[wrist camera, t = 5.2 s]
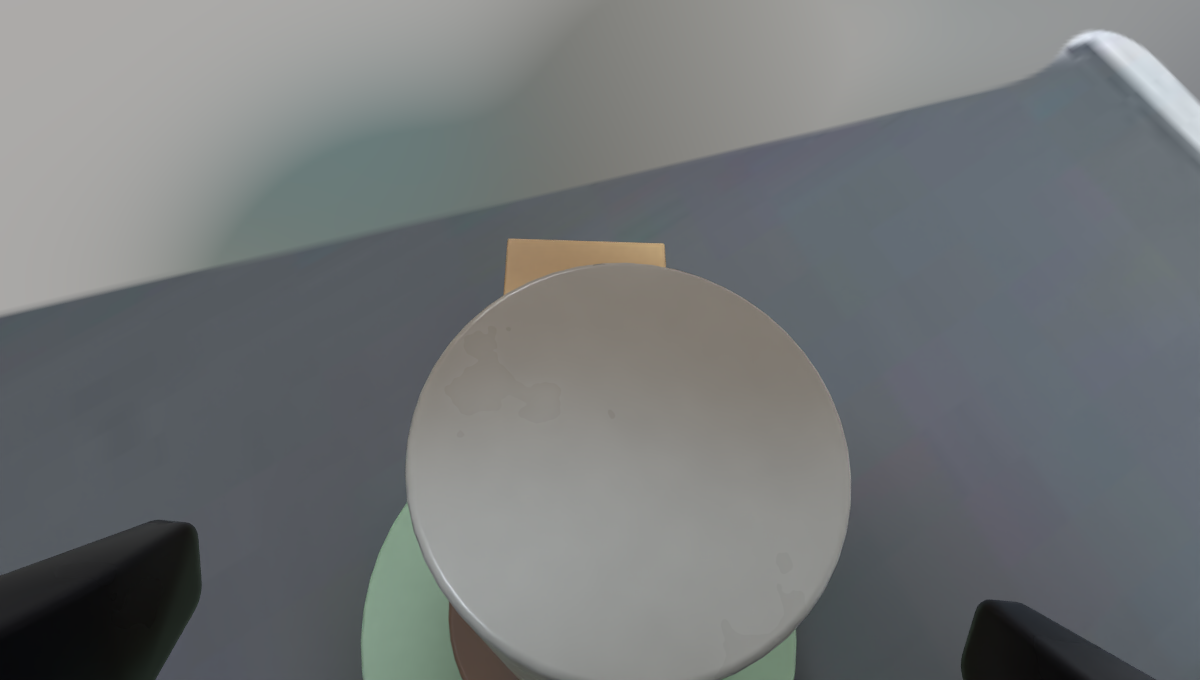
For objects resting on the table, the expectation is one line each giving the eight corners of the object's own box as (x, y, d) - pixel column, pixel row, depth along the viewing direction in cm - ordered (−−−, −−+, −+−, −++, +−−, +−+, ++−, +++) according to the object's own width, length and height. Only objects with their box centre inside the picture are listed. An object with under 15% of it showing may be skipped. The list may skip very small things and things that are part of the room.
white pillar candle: (720, 755, 13) (1043, 833, 4) (441, 758, 13) (216, 845, 4) (683, 260, 18) (798, -137, 10) (485, 254, 18) (426, -161, 10)
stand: (803, 860, 14) (830, 876, 13) (344, 869, 13) (322, 885, 12) (754, 435, 18) (769, 413, 17) (404, 429, 18) (392, 406, 16)
